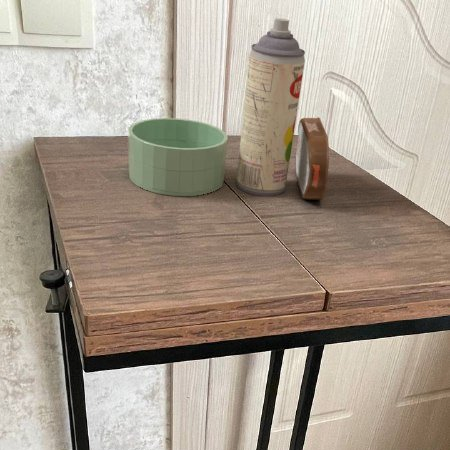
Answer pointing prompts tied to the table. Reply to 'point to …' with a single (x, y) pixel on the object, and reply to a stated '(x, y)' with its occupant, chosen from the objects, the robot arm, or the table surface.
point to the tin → (312, 158)
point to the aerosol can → (270, 111)
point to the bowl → (176, 156)
